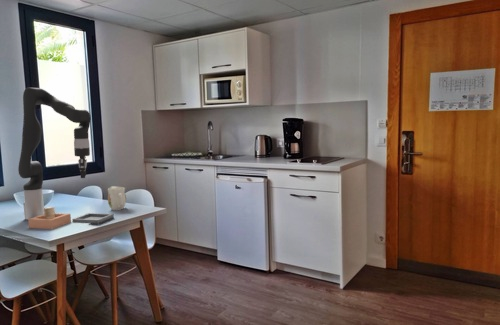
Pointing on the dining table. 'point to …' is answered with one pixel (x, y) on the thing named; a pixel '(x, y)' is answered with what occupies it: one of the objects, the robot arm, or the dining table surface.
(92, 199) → the dining table surface
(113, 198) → the pitcher
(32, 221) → the orange open box
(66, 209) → the dining table surface
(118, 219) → the dining table surface
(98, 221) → the tray
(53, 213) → the cylinder
